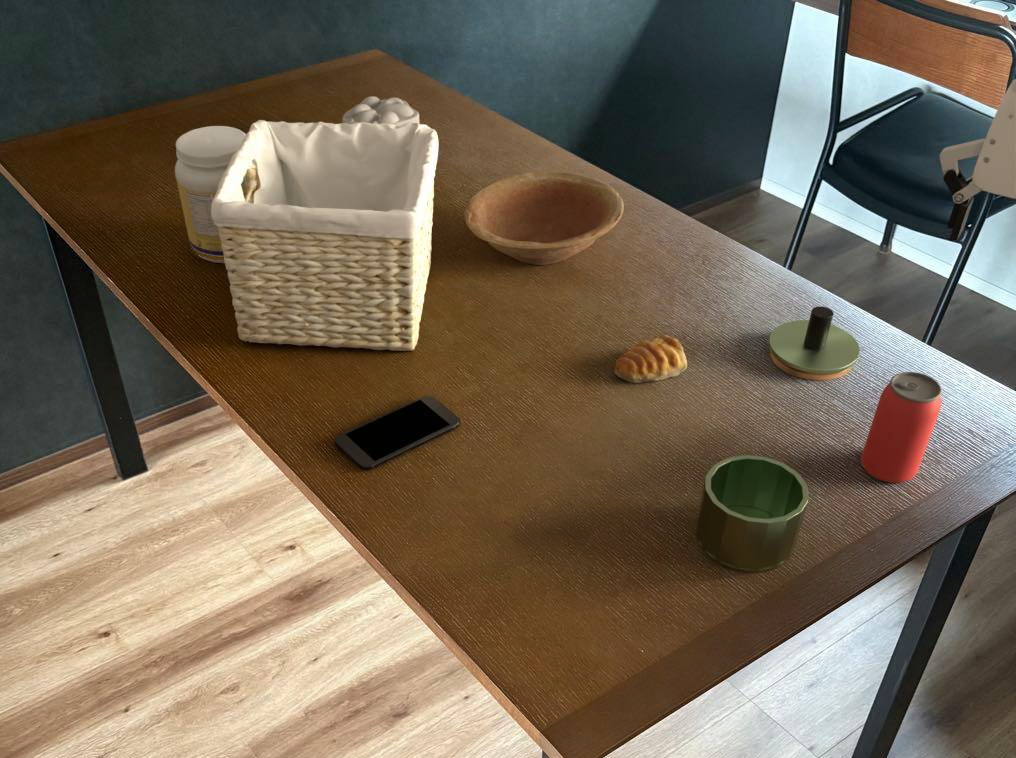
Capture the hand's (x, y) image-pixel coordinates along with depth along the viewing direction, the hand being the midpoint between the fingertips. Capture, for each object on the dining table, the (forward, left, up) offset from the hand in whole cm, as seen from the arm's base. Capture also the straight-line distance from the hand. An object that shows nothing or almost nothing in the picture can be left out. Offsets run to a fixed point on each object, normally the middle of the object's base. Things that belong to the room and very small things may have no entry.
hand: (1003, 247), depth 110 cm
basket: (+81, +8, -28) cm, 86 cm away
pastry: (+36, 0, -28) cm, 46 cm away
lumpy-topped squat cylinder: (+105, -35, -28) cm, 114 cm away
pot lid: (+19, -14, -27) cm, 36 cm away
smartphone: (+57, +29, -28) cm, 70 cm away
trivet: (+19, -14, -28) cm, 37 cm away
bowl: (+64, -20, -28) cm, 73 cm away
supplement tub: (+106, +4, -28) cm, 110 cm away
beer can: (+3, +4, -28) cm, 29 cm away
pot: (+14, +24, -28) cm, 39 cm away
